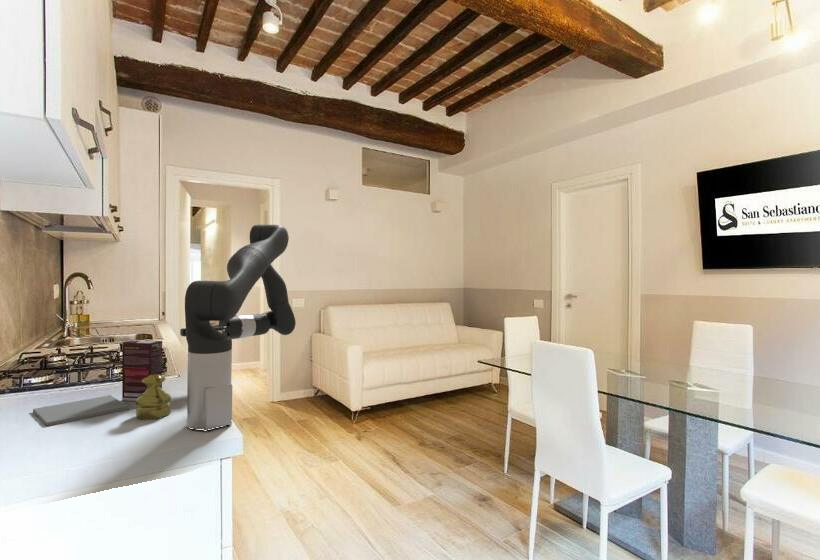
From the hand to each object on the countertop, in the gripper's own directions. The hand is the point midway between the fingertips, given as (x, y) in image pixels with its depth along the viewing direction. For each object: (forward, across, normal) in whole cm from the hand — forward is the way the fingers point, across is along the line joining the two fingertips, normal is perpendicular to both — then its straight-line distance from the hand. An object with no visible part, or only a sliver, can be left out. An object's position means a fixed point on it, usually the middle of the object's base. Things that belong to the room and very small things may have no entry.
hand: (181, 332), depth 124 cm
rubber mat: (+24, 0, +17) cm, 29 cm away
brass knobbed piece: (+13, +16, +17) cm, 27 cm away
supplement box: (+10, 0, +17) cm, 20 cm away
